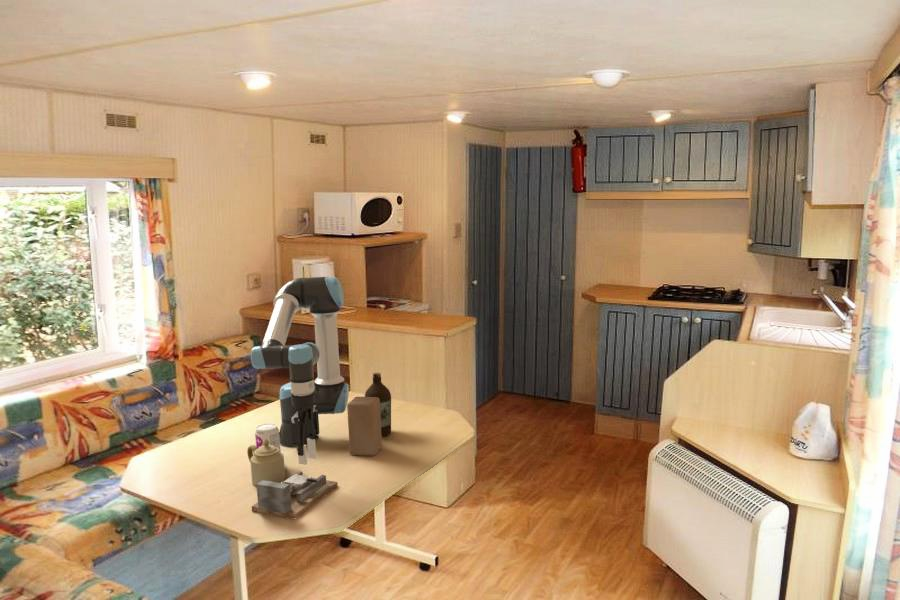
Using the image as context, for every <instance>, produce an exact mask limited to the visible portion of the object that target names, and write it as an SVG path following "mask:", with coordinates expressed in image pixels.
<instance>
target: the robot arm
mask: <svg viewBox="0 0 900 600" xmlns="http://www.w3.org/2000/svg"><path fill="white" fill-rule="evenodd" d="M344 295H345V294H344V289H343V286H342V283H341V280H340V279H339V278H338V277H335V276H316V277H315V276H314V277H313V276H311V277H298V278H297V277H296V278H293V279H292V280H290V281H288V282H286V283H285V284H283V286H282V287H281V288H280V289H279V290H278V291H277V293H276V294H275V296H274V299H273V302H272V305H273V310H272V313H271V316H270V319H269V322H268V326H267V328H266V331H265V334H264V337H263V339H262V340H263V341H262V343H261V345H258V346H254V347H252V348H251V352H250V363H251V366H252V367H253V368H254V369H261V370H262V369H263V370H268V369H289V380H290V381H289V382H288V383H285V384H283V385H282V386H281V387H280V389H279V398H278V399H279V404H280V416H281V418H280V419H281V425H280V428H279V437H280V446H281V445H282V446H284V447H296V448H297V456H298V457H297V458H298V465H304V466H306V465H308V459H314V460H315V459H317V444H316V443H317V439H319V438H320V437H319V435H320V422H319V421H320V420H319V415H335V414H343V413H345V412H346V410H347V405H348V403H349V402H348V401H349V395H350V394H349V391H350V387H349V384H348V383H346V382H345V377H343V376H342V375H341V370H340V369H341V367H340V353H339V350H340V349H339V335H338V334H339V333H338V317H337V316H338V314H339V313H340V312H341V308H342V307H343V306H345V296H344ZM299 309H309V314H310V315H312V316H313V318H314V320H313V321H314V336H315V342H311V341H310V342H304V343H302V344H301V343H300V344H294V345H286V343H287V338H288V337H289V332H290V329H291V325H292V322H293V319H294V315H295V314H297V312H298V310H299ZM315 365H317V367H316V369H317V377H316V378H315V376H314V366H315ZM314 378H315V379H314Z"/></svg>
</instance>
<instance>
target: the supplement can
mask: <svg viewBox="0 0 900 600" xmlns="http://www.w3.org/2000/svg"><path fill="white" fill-rule="evenodd" d="M279 432H280V428H278V425H277V424H275V423H264V424H261V425H258V426H257V427H256V430H255V432H254V435H255V438H254V439H255V446H256V447H257V448H259V447H261V446H264V444H263V441H264V440H265V439H267V440H268V441H269V444H268V445H273V446H275V447H278V448H279V451H278V452H281V450H282V449H281V444H280V437H279ZM281 453H282V452H281Z"/></svg>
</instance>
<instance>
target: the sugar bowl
mask: <svg viewBox="0 0 900 600" xmlns="http://www.w3.org/2000/svg"><path fill="white" fill-rule="evenodd" d="M263 444H264V446H261V447H259V448H257V447H256V444H250V445H249V446H248V448H247V457H248V460H249V463H250V472H251V474H250V475H251V482H252V485H253V484H254V485H253V486H255V487H257V485H256V484H257V483H259V482H260V481H262V480H265V481H271V482H277V483H281V482H283V481H285V480H286V475H285V474H286V473H285V471H286V470H285V469H286V468H285V457H284V453H282V452H278V451H279V448H278V447H275V446H273V445H268V444H269V441H268V440H267V439H265V440H264V441H263ZM284 479H285V480H284Z"/></svg>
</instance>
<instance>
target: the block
mask: <svg viewBox="0 0 900 600" xmlns="http://www.w3.org/2000/svg"><path fill="white" fill-rule="evenodd" d="M346 410H347V411H346V412H347V425H348V443H349V444H348V445H349V455H351V456H367V457H369V456H371V457H373V456H375V455H377V453H378V452H379V451H380V449H381V448H382V446H383V443H382V442H383V440H382V438H383V437H382V436H381V415H380V399H379V398H378V397H365V396H355V397H353V399H352V400H351V401H349V402H348V403H347V407H346Z"/></svg>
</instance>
